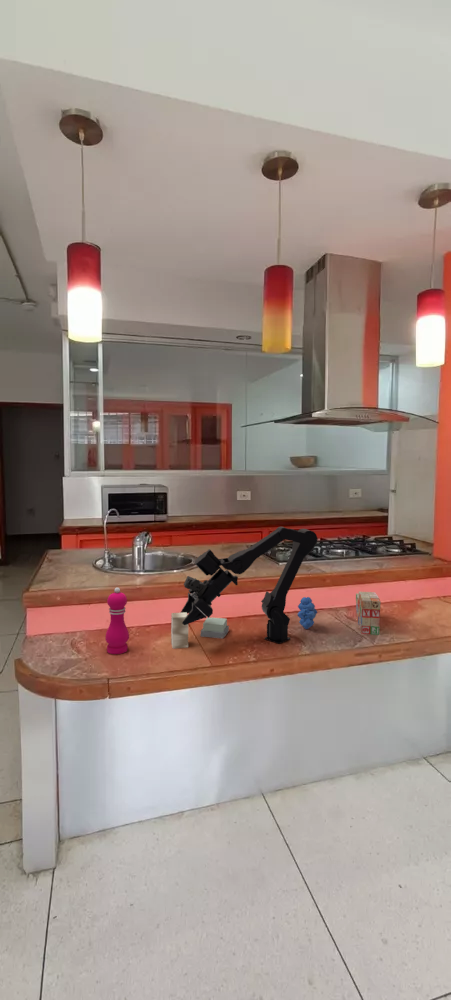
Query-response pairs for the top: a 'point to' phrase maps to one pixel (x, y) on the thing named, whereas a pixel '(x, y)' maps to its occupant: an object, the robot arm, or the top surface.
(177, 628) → the ash pillar
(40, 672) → the top surface
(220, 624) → the tower top block
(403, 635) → the top surface
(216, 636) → the tower base block
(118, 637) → the pepper mill
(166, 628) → the top surface
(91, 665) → the top surface
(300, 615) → the grapes
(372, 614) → the stack of blocks
